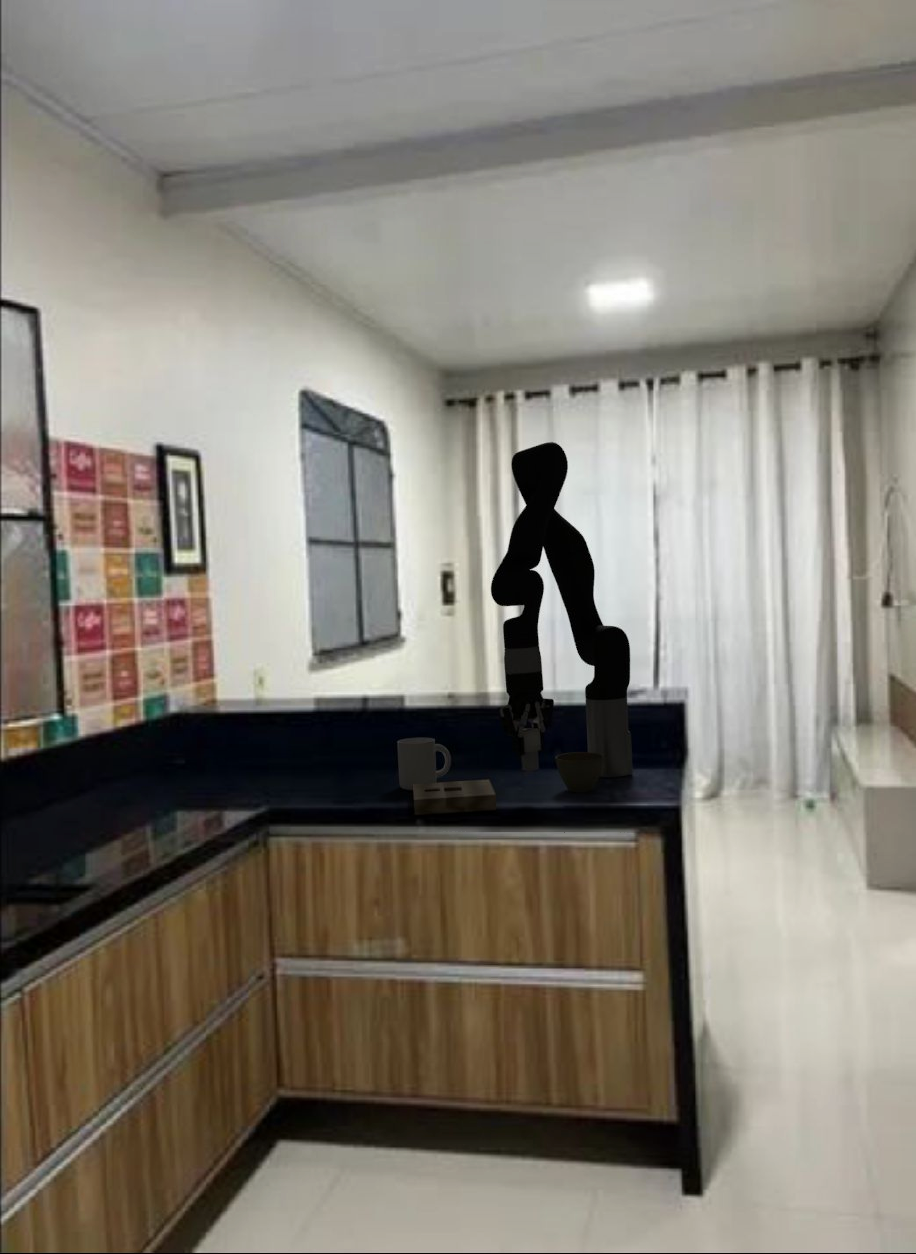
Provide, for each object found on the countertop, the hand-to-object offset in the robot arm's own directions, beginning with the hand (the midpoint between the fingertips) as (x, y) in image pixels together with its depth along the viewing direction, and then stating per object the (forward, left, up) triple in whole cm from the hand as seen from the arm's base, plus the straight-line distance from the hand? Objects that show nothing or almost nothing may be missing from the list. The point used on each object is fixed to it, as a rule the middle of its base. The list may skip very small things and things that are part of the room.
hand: (529, 752), depth 222 cm
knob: (0, 0, -3) cm, 3 cm away
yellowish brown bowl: (-11, -6, -10) cm, 16 cm away
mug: (+21, -21, -10) cm, 31 cm away
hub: (+16, 0, -10) cm, 18 cm away
